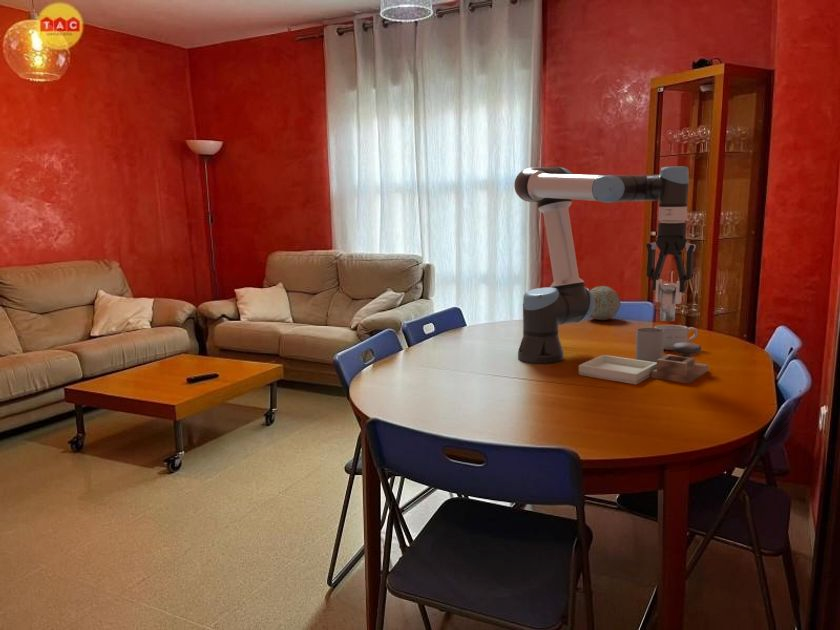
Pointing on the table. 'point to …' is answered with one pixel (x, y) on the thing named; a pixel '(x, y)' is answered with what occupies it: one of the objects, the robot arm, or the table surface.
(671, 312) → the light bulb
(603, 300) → the decorative sphere
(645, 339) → the cup
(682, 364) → the block
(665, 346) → the teacup
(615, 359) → the tray
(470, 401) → the table surface
